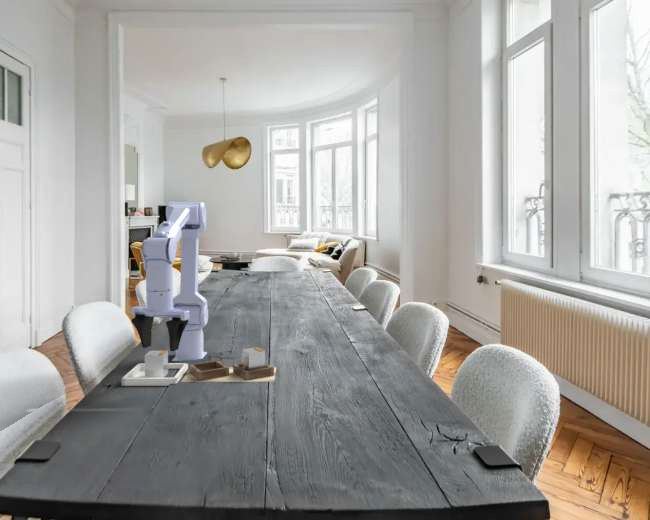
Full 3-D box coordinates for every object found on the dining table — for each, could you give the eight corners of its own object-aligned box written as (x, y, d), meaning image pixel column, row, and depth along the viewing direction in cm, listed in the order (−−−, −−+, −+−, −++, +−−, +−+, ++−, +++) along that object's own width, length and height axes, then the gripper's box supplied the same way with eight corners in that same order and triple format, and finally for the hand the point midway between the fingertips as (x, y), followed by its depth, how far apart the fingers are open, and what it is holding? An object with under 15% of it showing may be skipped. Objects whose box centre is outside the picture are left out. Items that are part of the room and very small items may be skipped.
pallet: (191, 370, 130) (191, 359, 129) (276, 370, 131) (276, 359, 131) (180, 385, 118) (180, 373, 117) (274, 385, 119) (274, 373, 119)
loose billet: (150, 374, 124) (149, 349, 124) (168, 374, 124) (167, 349, 124) (144, 379, 120) (144, 354, 119) (163, 379, 120) (163, 354, 120)
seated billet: (241, 372, 125) (241, 348, 125) (257, 370, 127) (257, 346, 127) (248, 377, 121) (248, 352, 121) (265, 374, 124) (265, 350, 123)
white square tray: (138, 371, 128) (138, 363, 128) (188, 371, 129) (188, 363, 129) (121, 388, 116) (121, 378, 115) (176, 387, 116) (176, 378, 116)
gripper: (121, 290, 112) (122, 349, 113) (175, 294, 107) (176, 356, 108) (142, 286, 119) (143, 342, 120) (194, 290, 114) (195, 348, 115)
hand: (160, 348), depth 114 cm, fingers open, 7 cm apart
